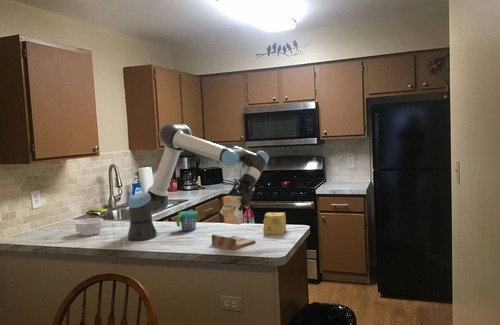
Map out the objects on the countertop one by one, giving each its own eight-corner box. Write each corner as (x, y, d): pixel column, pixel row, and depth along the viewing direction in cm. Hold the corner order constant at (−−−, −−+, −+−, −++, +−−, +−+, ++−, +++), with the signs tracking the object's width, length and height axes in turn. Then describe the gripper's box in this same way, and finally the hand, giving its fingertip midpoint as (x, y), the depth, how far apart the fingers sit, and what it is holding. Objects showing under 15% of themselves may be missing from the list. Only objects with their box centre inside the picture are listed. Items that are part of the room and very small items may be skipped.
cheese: (263, 234, 208) (262, 215, 207) (268, 229, 218) (267, 211, 218) (282, 235, 205) (281, 216, 204) (287, 230, 215) (286, 211, 215)
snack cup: (194, 226, 238) (193, 209, 237) (205, 228, 230) (204, 210, 230) (172, 231, 227) (170, 213, 226) (182, 234, 219) (181, 215, 219)
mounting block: (212, 244, 194) (211, 234, 194) (233, 238, 204) (232, 229, 204) (234, 249, 183) (233, 239, 183) (255, 242, 193) (254, 233, 192)
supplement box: (224, 223, 194) (222, 196, 193) (230, 221, 198) (228, 195, 197) (238, 224, 189) (236, 197, 188) (243, 222, 193) (242, 195, 192)
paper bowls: (94, 237, 223) (93, 223, 223) (70, 237, 226) (69, 223, 226) (109, 230, 238) (108, 217, 238) (86, 230, 241) (85, 217, 241)
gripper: (269, 183, 195) (248, 221, 185) (239, 181, 210) (218, 216, 200) (261, 173, 191) (239, 212, 181) (231, 172, 206) (209, 208, 196)
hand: (228, 214), depth 191 cm, fingers closed on supplement box, 9 cm apart
